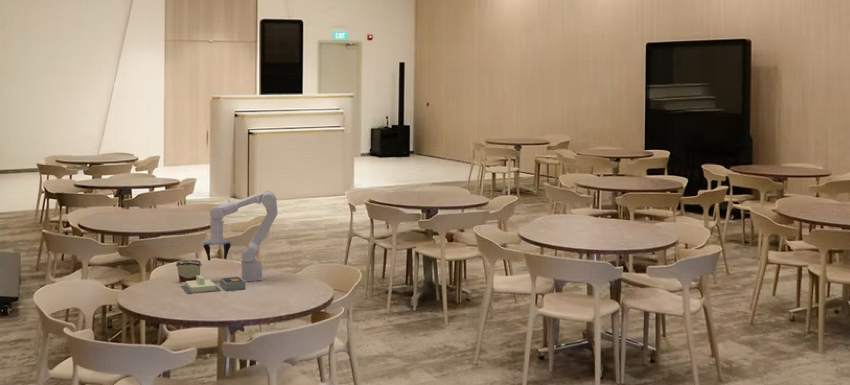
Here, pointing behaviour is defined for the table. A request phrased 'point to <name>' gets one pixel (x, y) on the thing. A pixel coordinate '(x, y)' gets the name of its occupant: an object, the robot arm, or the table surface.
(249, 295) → the table surface
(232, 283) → the storage box
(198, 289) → the lid
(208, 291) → the rubber mat
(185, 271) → the food container
